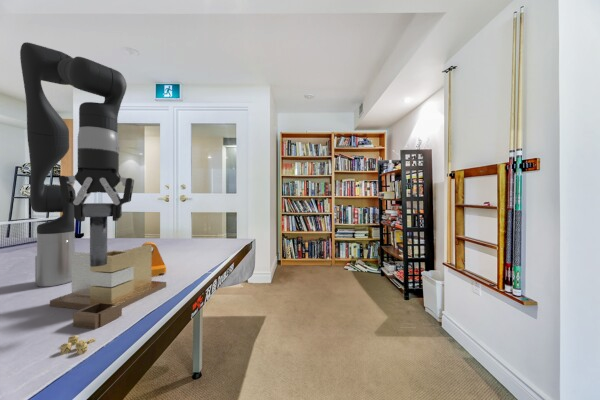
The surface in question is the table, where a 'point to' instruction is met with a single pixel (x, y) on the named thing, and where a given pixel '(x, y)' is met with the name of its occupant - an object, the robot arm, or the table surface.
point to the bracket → (156, 261)
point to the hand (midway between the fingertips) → (98, 220)
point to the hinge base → (113, 289)
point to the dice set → (80, 345)
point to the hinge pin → (98, 230)
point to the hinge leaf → (95, 275)
